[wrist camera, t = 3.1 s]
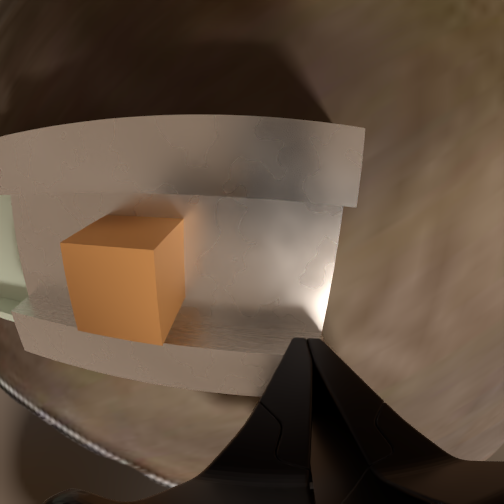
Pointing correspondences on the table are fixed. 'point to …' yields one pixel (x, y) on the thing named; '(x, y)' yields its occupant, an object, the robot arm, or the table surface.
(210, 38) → the table surface
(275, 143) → the slot rail
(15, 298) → the tray
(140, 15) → the table surface
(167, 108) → the table surface
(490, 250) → the table surface
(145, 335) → the peach toy brick
